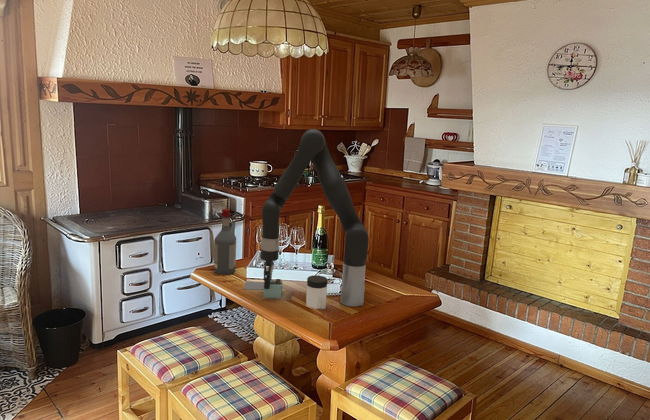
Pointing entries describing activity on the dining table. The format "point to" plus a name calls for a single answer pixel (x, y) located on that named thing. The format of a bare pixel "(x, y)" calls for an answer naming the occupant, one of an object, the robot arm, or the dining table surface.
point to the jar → (316, 292)
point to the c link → (273, 290)
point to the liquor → (225, 248)
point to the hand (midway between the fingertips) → (267, 285)
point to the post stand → (283, 296)
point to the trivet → (254, 285)
